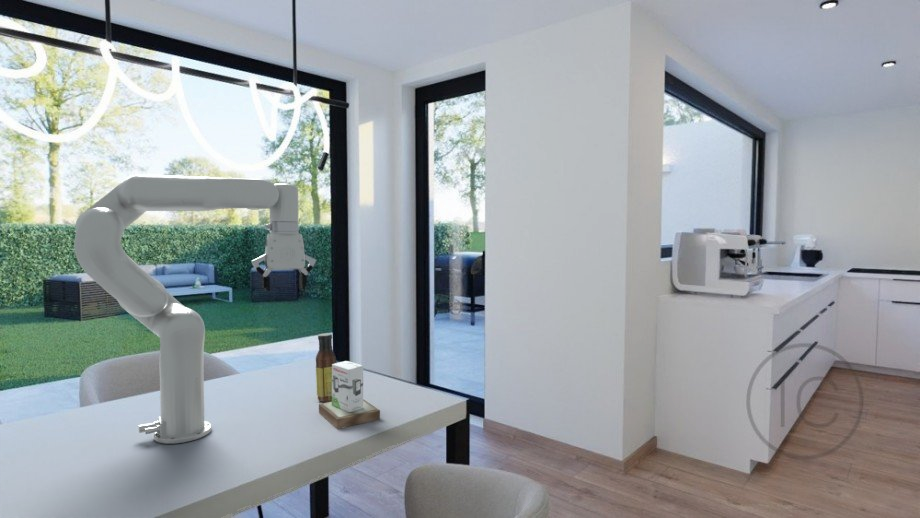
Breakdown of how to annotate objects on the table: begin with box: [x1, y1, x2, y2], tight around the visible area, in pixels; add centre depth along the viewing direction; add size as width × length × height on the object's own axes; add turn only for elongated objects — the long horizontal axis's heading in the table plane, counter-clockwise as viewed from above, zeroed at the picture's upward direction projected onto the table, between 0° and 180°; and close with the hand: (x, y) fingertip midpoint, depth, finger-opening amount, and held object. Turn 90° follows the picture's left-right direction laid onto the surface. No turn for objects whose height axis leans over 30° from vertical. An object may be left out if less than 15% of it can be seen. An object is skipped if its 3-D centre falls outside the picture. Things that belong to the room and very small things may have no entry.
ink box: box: [331, 360, 364, 412], centre depth 138 cm, size 9×5×12 cm, turn 48°
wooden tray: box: [318, 398, 381, 430], centre depth 139 cm, size 12×14×3 cm
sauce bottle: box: [315, 332, 338, 403], centre depth 152 cm, size 7×6×20 cm
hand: (285, 289), depth 141 cm, fingers open, 9 cm apart
